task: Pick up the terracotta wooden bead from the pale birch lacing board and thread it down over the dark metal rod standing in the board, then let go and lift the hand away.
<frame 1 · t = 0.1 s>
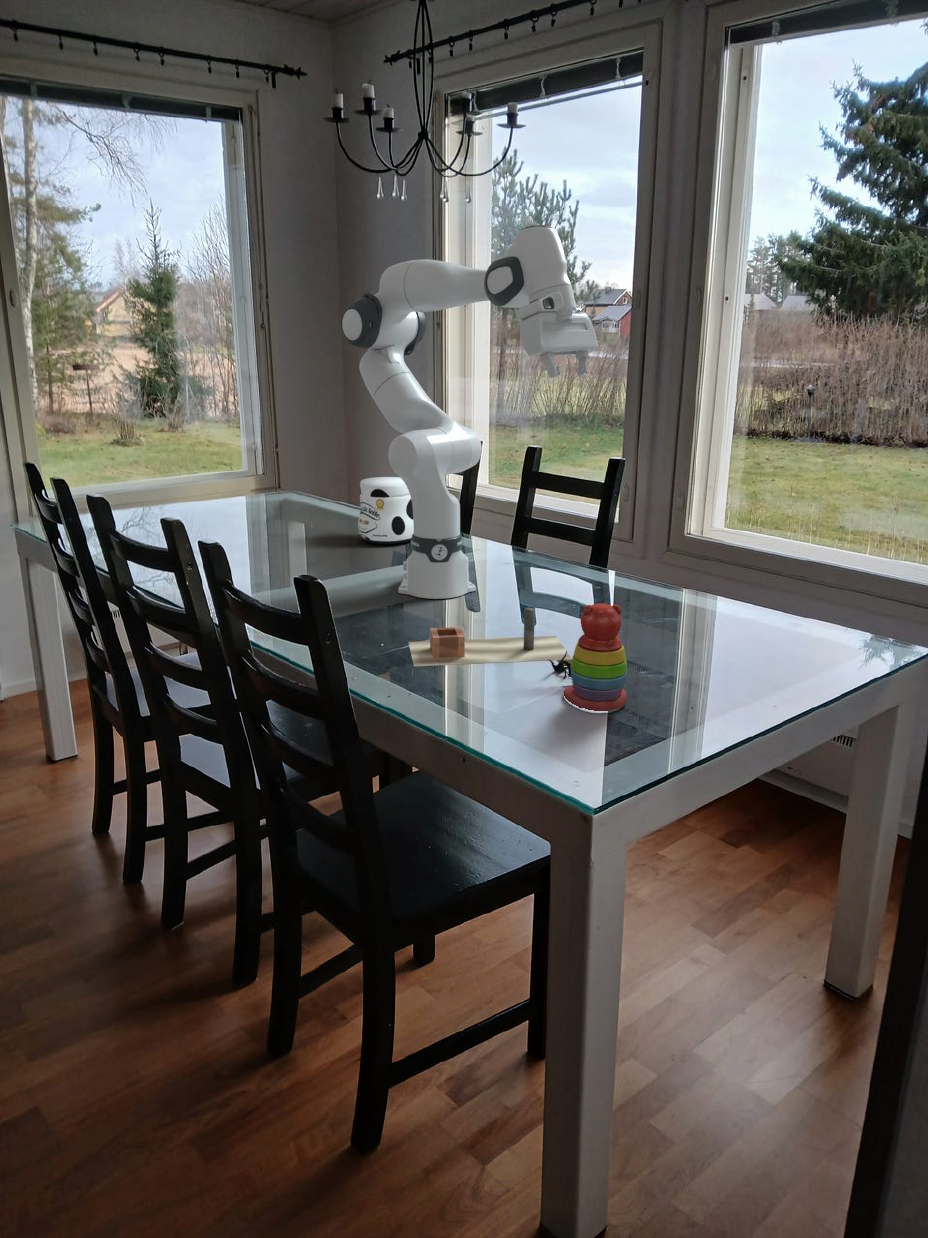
hand: (569, 376, 188), 52 cm above the table, tool tilted 20°, fingers open, 8 cm apart
stacking bear: (596, 704, 161), on the table
lacing board: (488, 657, 183), on the table
bead: (447, 652, 182), point 1 cm above the table, touching lacing board
milk container: (387, 541, 281), on the table
creature: (572, 684, 171), on the table
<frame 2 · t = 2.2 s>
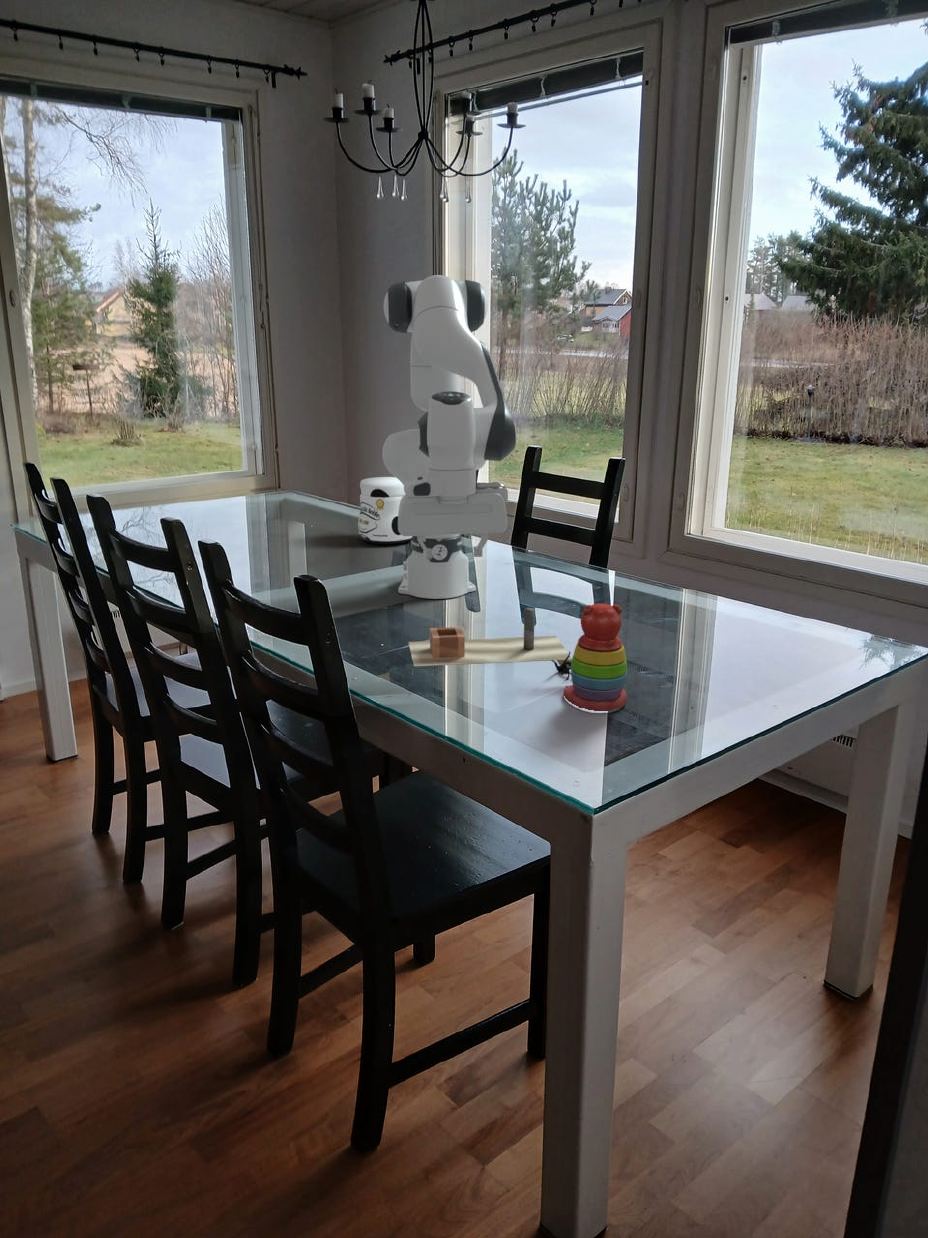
hand: (453, 557, 176), 20 cm above the table, tool pointing down, fingers open, 8 cm apart
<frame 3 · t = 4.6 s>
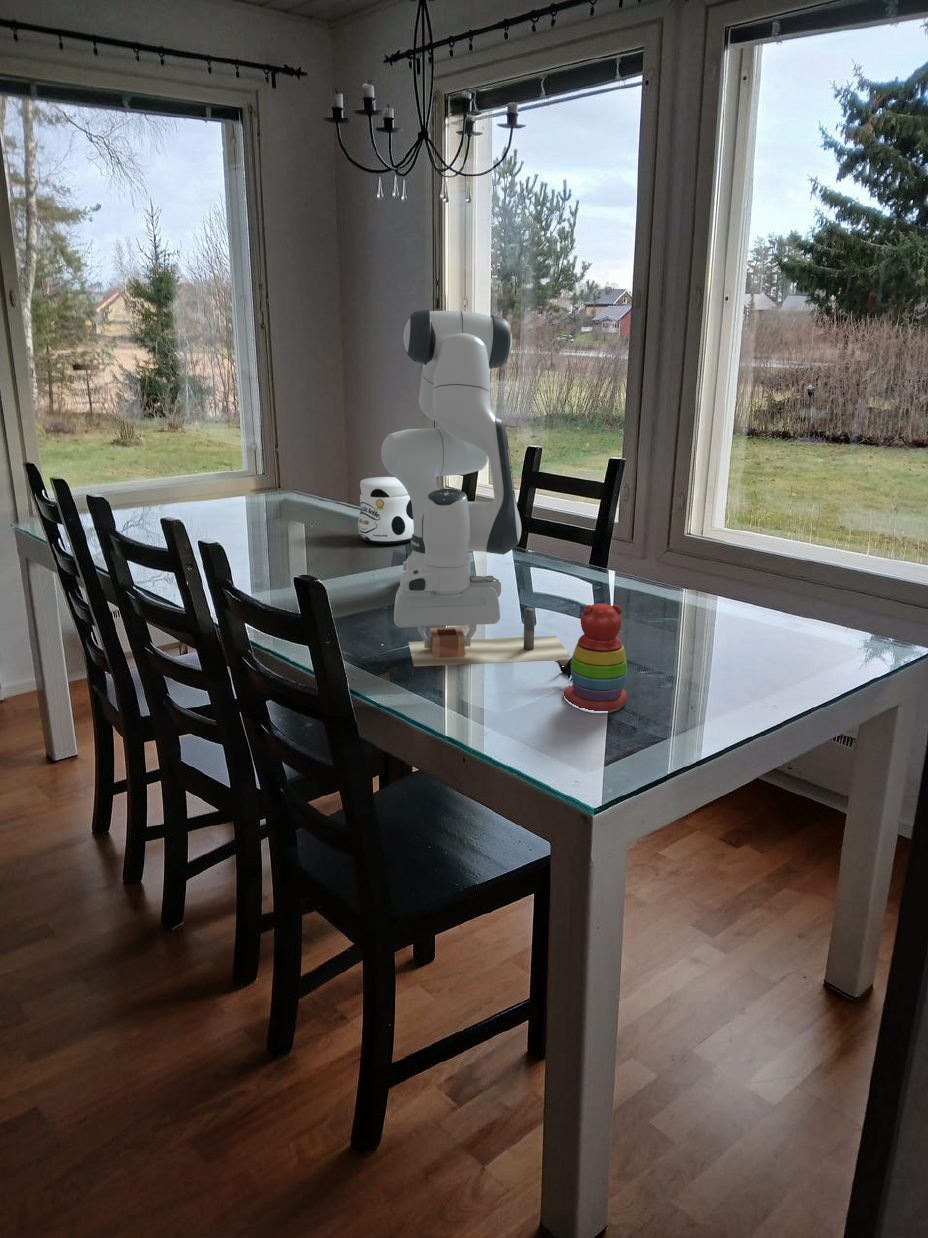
hand: (447, 646, 181), 3 cm above the table, tool pointing down, fingers closed on bead, 6 cm apart
bead: (447, 652, 182), point 1 cm above the table, touching gripper, lacing board
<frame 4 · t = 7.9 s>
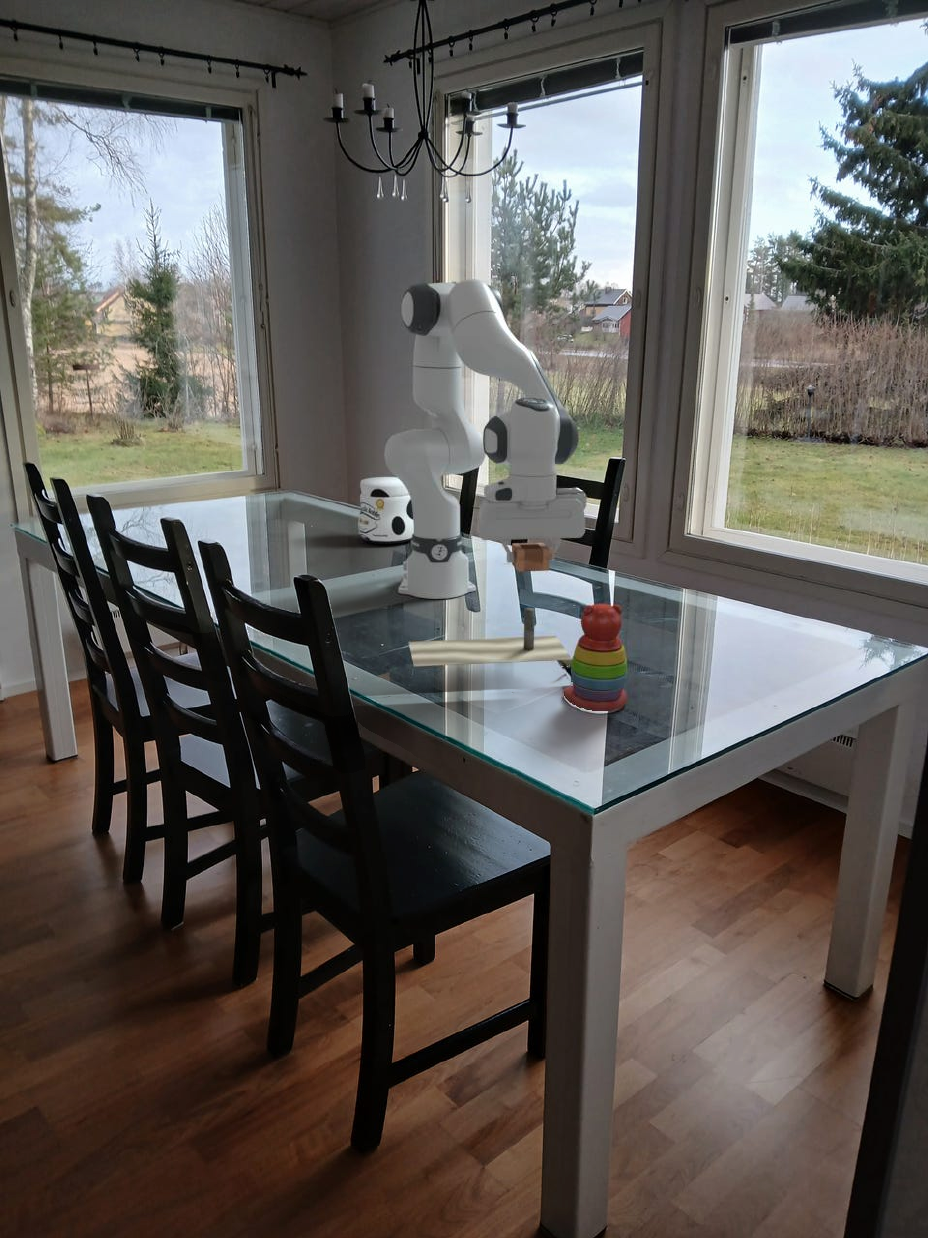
hand: (530, 561, 178), 19 cm above the table, tool pointing down, fingers closed on bead, 6 cm apart
bead: (530, 567, 179), point 18 cm above the table, touching gripper
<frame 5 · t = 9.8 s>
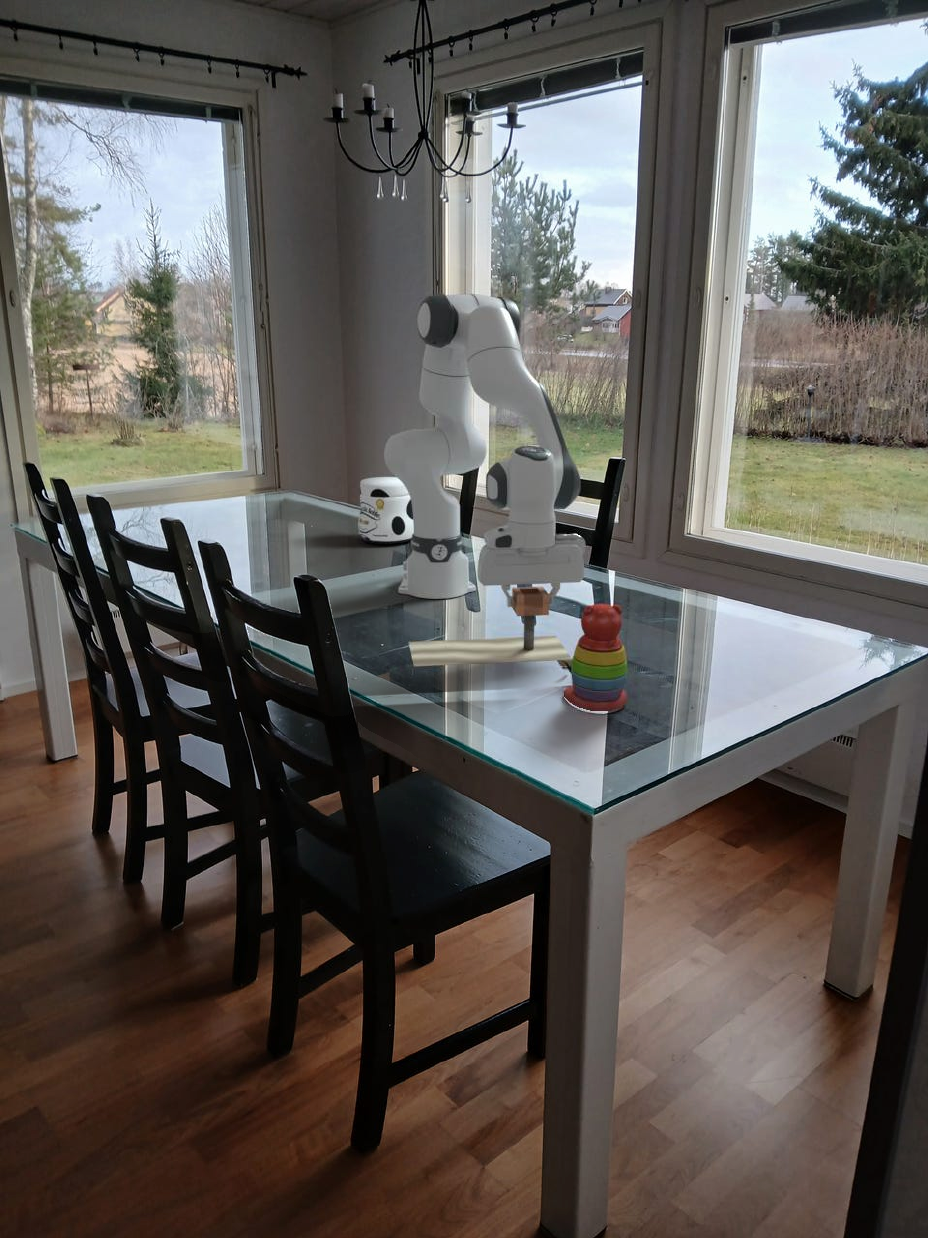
hand: (530, 605, 181), 10 cm above the table, tool pointing down, fingers closed on bead, 6 cm apart
bead: (530, 611, 181), point 9 cm above the table, touching gripper
when the fingers open (6 cm above the table, at t = 11.4 s): bead drops 3 cm, resting on lacing board.
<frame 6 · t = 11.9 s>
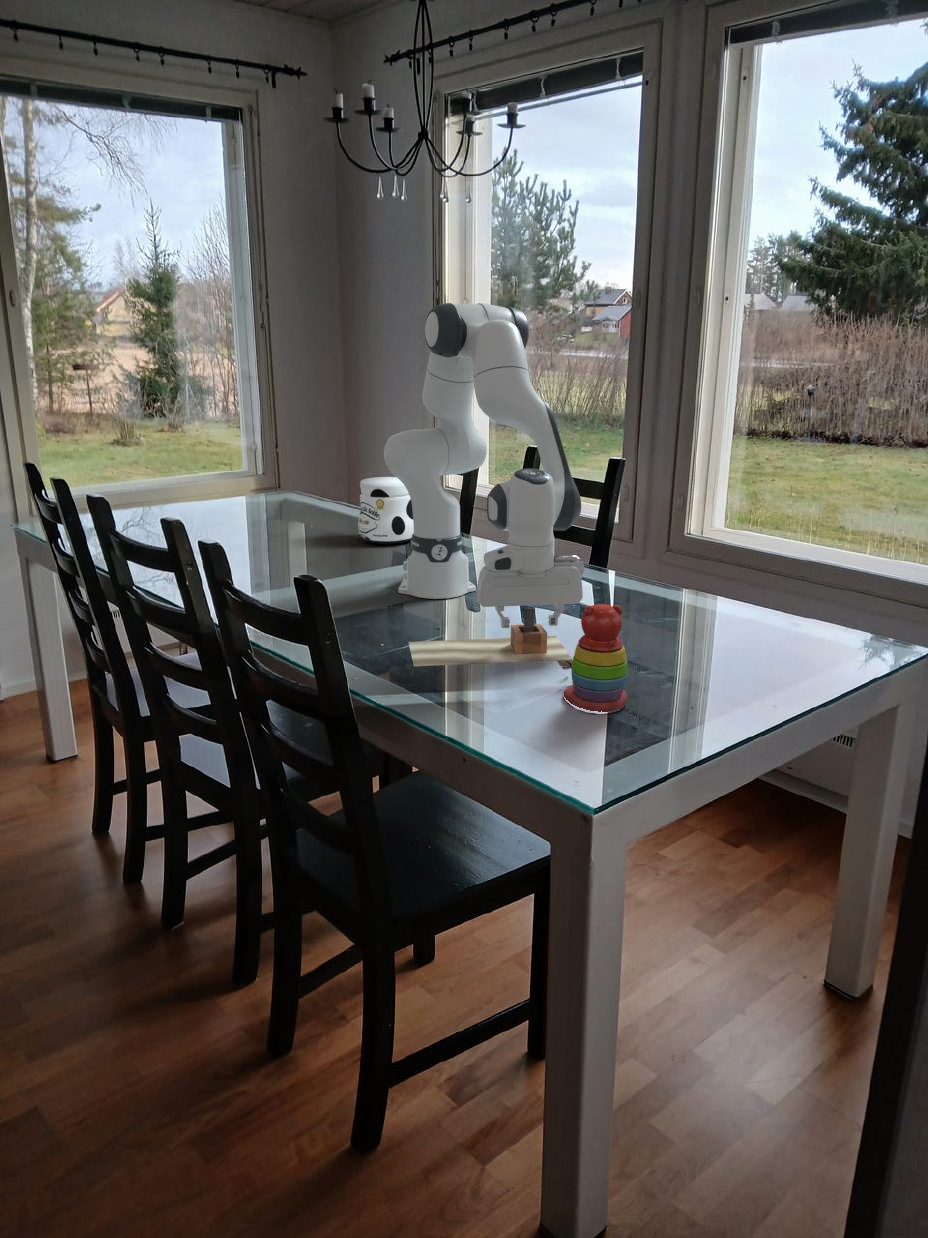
hand: (529, 626, 182), 6 cm above the table, tool pointing down, fingers open, 8 cm apart
bead: (528, 648, 184), point 1 cm above the table, touching lacing board
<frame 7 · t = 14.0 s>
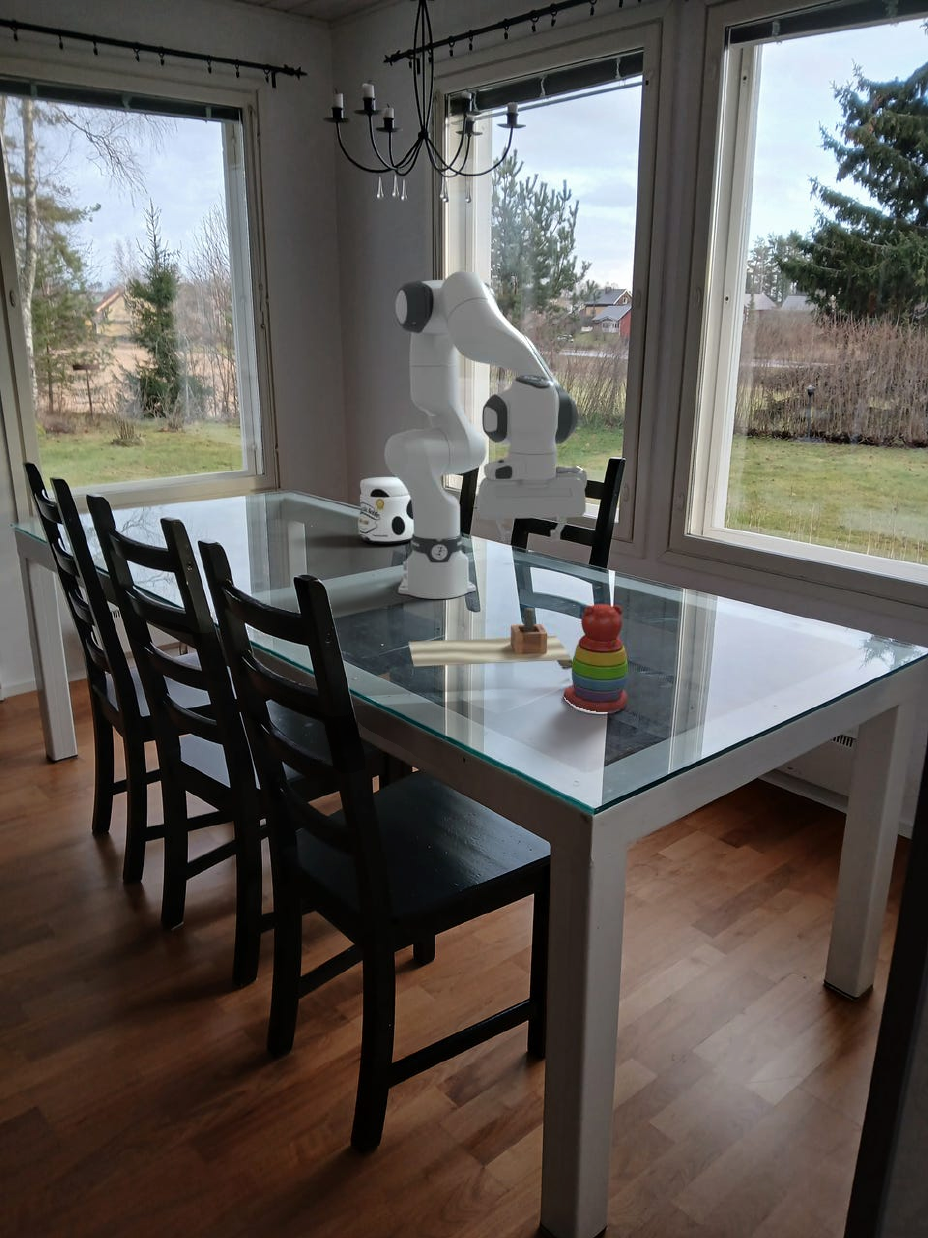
hand: (530, 540, 177), 23 cm above the table, tool pointing down, fingers open, 8 cm apart
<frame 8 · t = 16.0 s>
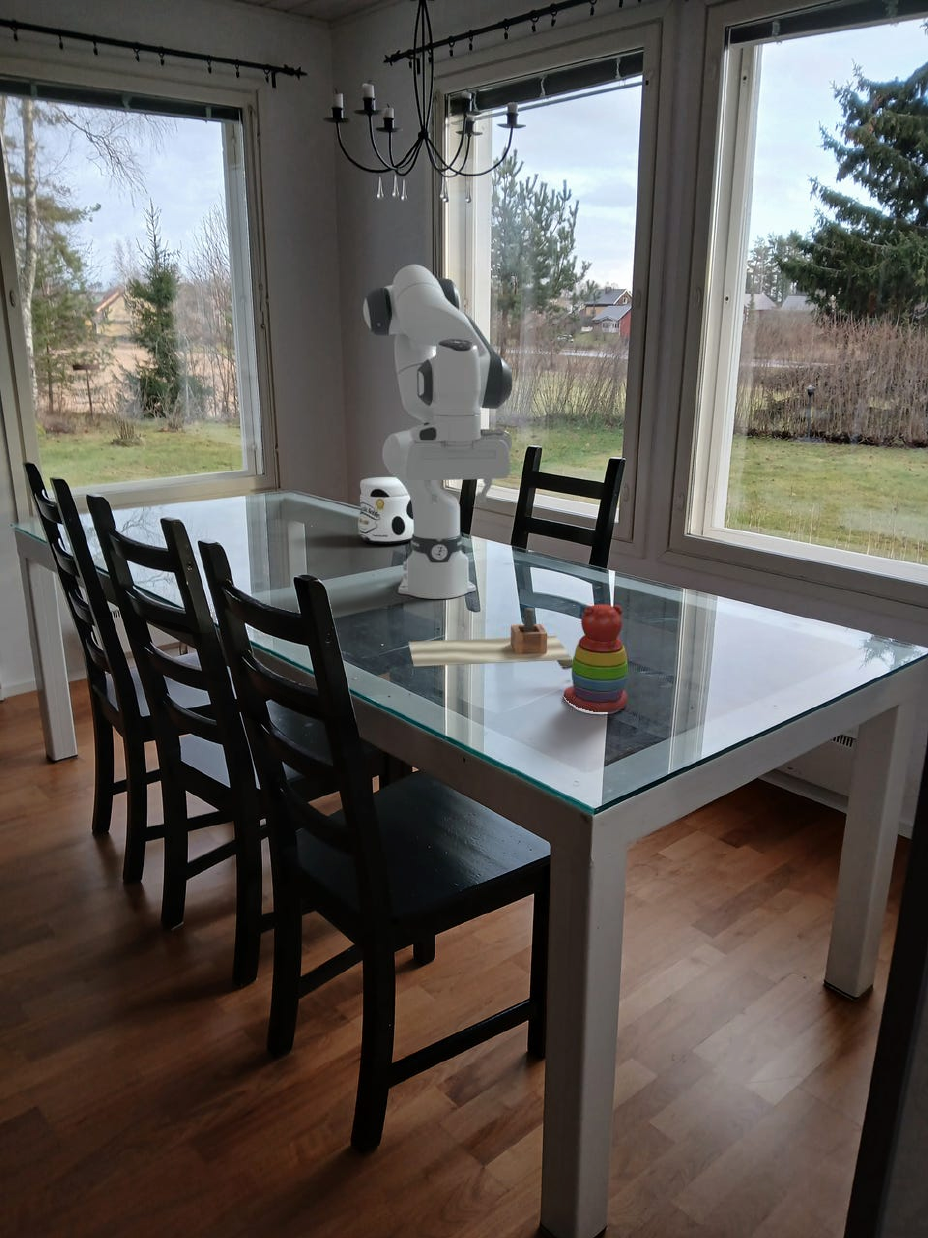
hand: (457, 502, 181), 29 cm above the table, tool pointing down, fingers open, 8 cm apart
at the end: bead 0.0 cm from the target spot on the lacing board, point 1.5 cm above the lacing board's base; the gripper is holding nothing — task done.
